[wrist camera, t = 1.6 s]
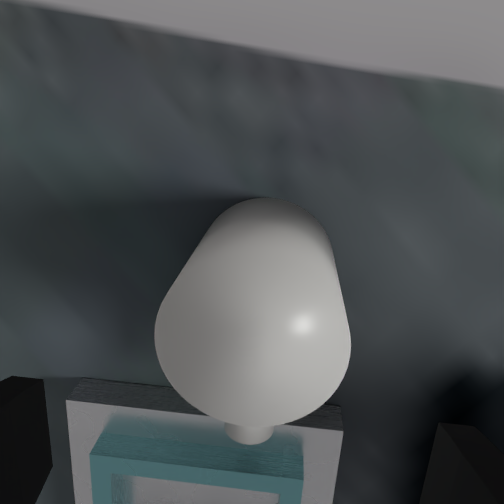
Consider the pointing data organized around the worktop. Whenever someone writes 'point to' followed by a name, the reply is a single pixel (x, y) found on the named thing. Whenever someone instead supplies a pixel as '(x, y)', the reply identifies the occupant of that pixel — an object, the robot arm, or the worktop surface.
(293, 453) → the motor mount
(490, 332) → the worktop surface
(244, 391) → the grey rounded piece
